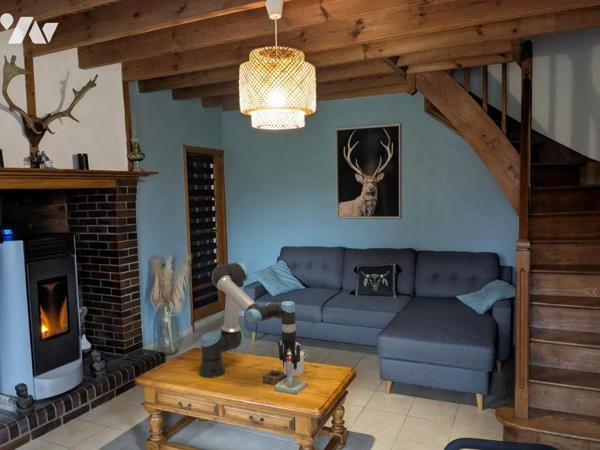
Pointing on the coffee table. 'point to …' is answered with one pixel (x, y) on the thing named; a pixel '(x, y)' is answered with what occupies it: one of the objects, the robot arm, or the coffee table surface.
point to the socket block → (274, 377)
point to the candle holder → (299, 364)
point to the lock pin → (289, 370)
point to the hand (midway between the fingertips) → (290, 374)
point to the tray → (290, 389)
